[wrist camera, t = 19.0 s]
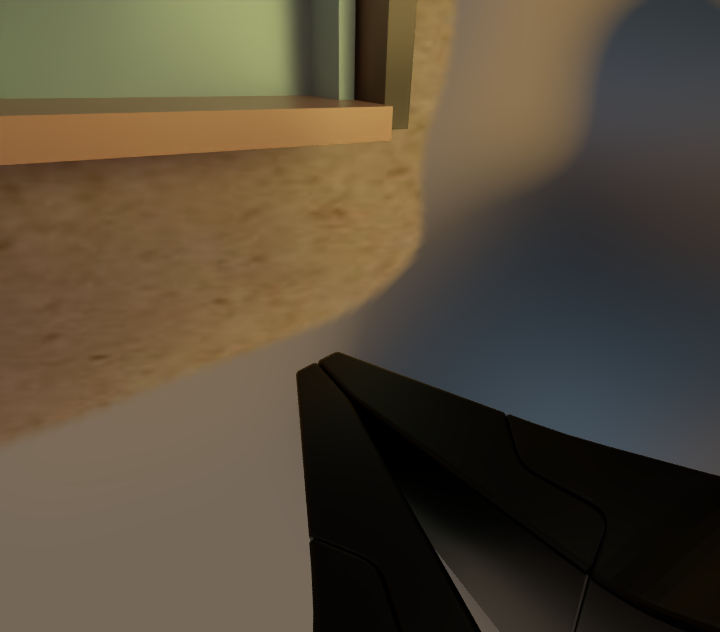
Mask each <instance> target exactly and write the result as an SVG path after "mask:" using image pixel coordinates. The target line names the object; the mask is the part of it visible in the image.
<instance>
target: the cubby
mask: <svg viewBox="0 0 720 632" xmlns="http://www.w3.org/2000/svg"><path fill="white" fill-rule="evenodd" d="M416 8H417V0H356V3H355V79H354V100H358V101H364V102H370V103H376V104H382V105H388V106H393V116H392V130H393V129H408V121H409V107H410V92H411V78H412V64H413V50H414V36H415V22H416Z"/></svg>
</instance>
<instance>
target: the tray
mask: <svg viewBox="0 0 720 632" xmlns="http://www.w3.org/2000/svg"><path fill="white" fill-rule="evenodd" d="M355 3H356V0H0V165H14V164H30V163H46V162H62V161H77V160H93V159H109V158H125V157H140V156H156V155H172V154H188V153H204V152H219V151H235V150H251V149H267V148H282V147H298V146H314V145H330V144H345V143H361V142H377V141H391V135H392V116H393V106H388V105H382V104H376V103H370V102H364V101H358V100H354V79H355Z"/></svg>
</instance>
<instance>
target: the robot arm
mask: <svg viewBox="0 0 720 632" xmlns="http://www.w3.org/2000/svg"><path fill="white" fill-rule="evenodd" d="M296 380H297V392H298V404H299V417H300V429H301V441H302V454H303V467H304V479H305V492H306V503H307V516H308V528H309V538H310V540H311V541H310V543H309V545H310V558H311V572H312V591H313V592H312V594H313V632H481V631H480V629H479V627H478V625H477V624H476V622H475V620H474V618H473V616H472V615H471V613H470V611H469V609H468V608H467V606H466V604H465V602H464V600H463V599H462V597H461V595H460V593H459V592H458V590H457V588H456V586H455V584H454V583H453V581H452V579H451V577H450V576H449V574H448V572H447V570H446V569H445V567H444V565H443V563H442V562H441V560H440V558H439V556H438V554H439V555H440V556H441V558H442V559H443V560H444V561H445V563H446V564H447V565H448V566H449V568H450V569H451V570H452V571H453V573H454V574H455V575H456V577H457V578H458V579H459V580H460V582H461V583H462V584H463V585H464V587H465V588H466V589H467V591H468V592H469V593H470V594H471V596H472V597H473V598H474V599H475V601H476V602H477V603H478V605H479V606H480V607H481V608H482V610H483V611H484V612H485V613H486V615H487V616H488V617H489V618H490V620H491V621H492V622H493V623H494V625H495V626H496V627H497V629H498V630H499V631H500V632H720V476H718V475H714V474H709V473H706V472H702V471H698V470H694V469H690V468H687V467H683V466H679V465H675V464H672V463H668V462H665V461H661V460H657V459H653V458H650V457H646V456H642V455H639V454H635V453H631V452H627V451H624V450H620V449H616V448H613V447H609V446H605V445H602V444H598V443H595V442H592V441H588V440H585V439H581V438H578V437H574V436H571V435H567V434H564V433H561V432H558V431H556V430H553V429H550V428H546V427H544V426H541V425H538V424H535V423H532V422H529V421H526V420H524V419H521V418H518V417H515V416H513V415H510V414H509V415H507V416H506V415H505V413H504V412H501V411H499V410H496V409H493V408H490V407H488V406H485V405H482V404H480V403H477V402H474V401H471V400H468V399H466V398H463V397H460V396H458V395H455V394H452V393H449V392H447V391H444V390H441V389H439V388H436V387H433V386H430V385H427V384H425V383H422V382H419V381H416V380H414V379H411V378H408V377H406V376H403V375H400V374H397V373H395V372H392V371H389V370H387V369H384V368H381V367H378V366H376V365H373V364H370V363H367V362H365V361H362V360H359V359H357V358H353V357H351V356H348V355H346V354H343V353H340V352H335V353H333V354H331V355H329V356H327V357H325V358H323V359H321V360H319V362H318V364H317V363H313V364H311V365H309V366H307V367H305V368H303V369H301V370H299V371H298V372H297V374H296ZM435 550H436V551H437V552H438V554H437V553H436V551H435Z"/></svg>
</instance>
